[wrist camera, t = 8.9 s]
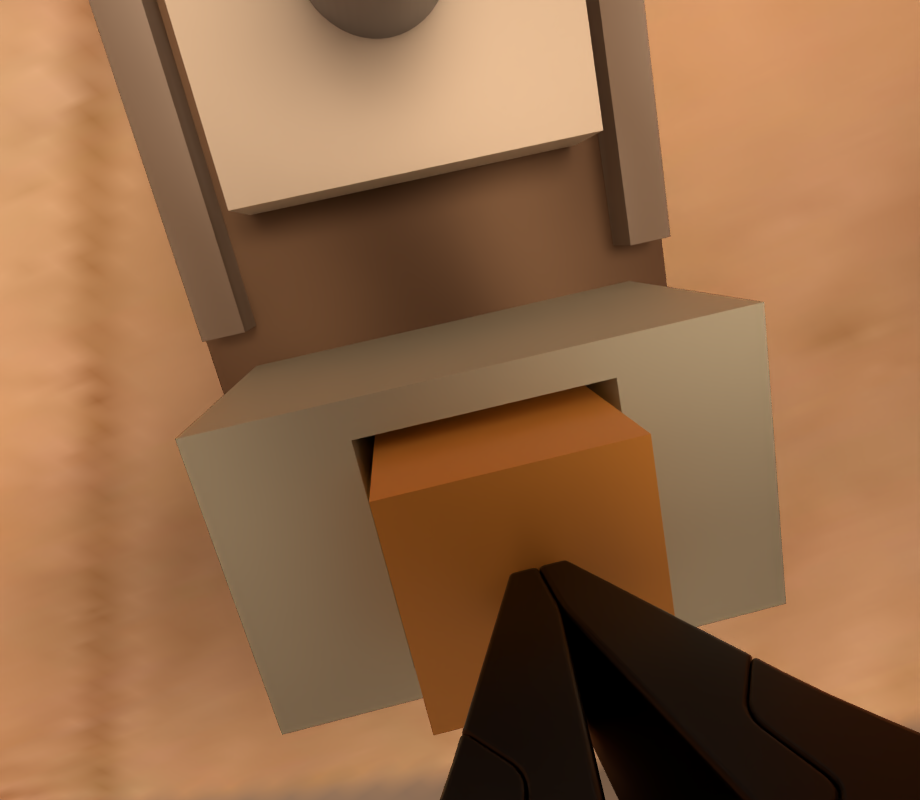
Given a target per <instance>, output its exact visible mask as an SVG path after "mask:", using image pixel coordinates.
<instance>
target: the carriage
mask: <svg viewBox="0 0 920 800" xmlns="http://www.w3.org/2000/svg"><path fill="white" fill-rule="evenodd" d="M165 3H166V7H167V10H168V13H169V17H170V20H171V23H172V26H173V30H174V33H175V36H176V40H177V43H178V46H179V50H180V53H181V56H182V59H183V63H184V66H185V69H186V73H187V76H188V79H189V83H190V86H191V89H192V92H193V96H194V99H195V102H196V106H197V109H198V112H199V116H200V119H201V122H202V125H203V129H204V132H205V135H206V139H207V142H208V145H209V149H210V152H211V155H212V158H213V162H214V165H215V168H216V172H217V175H218V178H219V182H220V185H221V188H222V192H223V195H224V198H225V201H226V205H227V208H228V211H232V212H237V213H242V214H247V215H254V214H258V213H263V212H267V211H272V210H277V209H281V208H286V207H291V206H295V205H300V204H305V203H309V202H314V201H319V200H323V199H328V198H333V197H337V196H342V195H347V194H351V193H356V192H360V191H365V190H370V189H374V188H379V187H384V186H388V185H393V184H398V183H402V182H407V181H412V180H416V179H421V178H426V177H430V176H435V175H439V174H444V173H449V172H453V171H458V170H463V169H467V168H472V167H477V166H481V165H486V164H491V163H495V162H500V161H505V160H509V159H514V158H519V157H523V156H528V155H532V154H537V153H542V152H546V151H551V150H556V149H560V148H565V147H570V146H574V145H577V144H579V143H581V142H582V141H584V140H586V139H588V138H590V137H592V136H594V135H595V134H597V133H599V132H601V131H603V125H602V118H601V110H600V103H599V95H598V88H597V81H596V73H595V66H594V58H593V51H592V44H591V36H590V29H589V21H588V14H587V7H586V0H165Z"/></svg>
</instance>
